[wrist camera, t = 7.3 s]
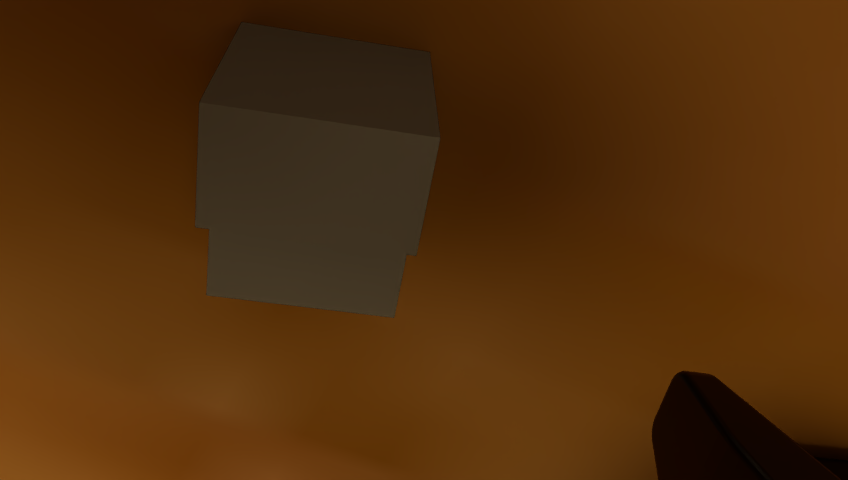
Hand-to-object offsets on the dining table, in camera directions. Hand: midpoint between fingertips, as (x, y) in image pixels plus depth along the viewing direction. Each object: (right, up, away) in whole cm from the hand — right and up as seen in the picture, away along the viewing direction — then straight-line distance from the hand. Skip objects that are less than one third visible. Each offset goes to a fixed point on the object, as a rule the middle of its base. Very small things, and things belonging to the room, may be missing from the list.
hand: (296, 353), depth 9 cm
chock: (-1, +4, +9) cm, 10 cm away
